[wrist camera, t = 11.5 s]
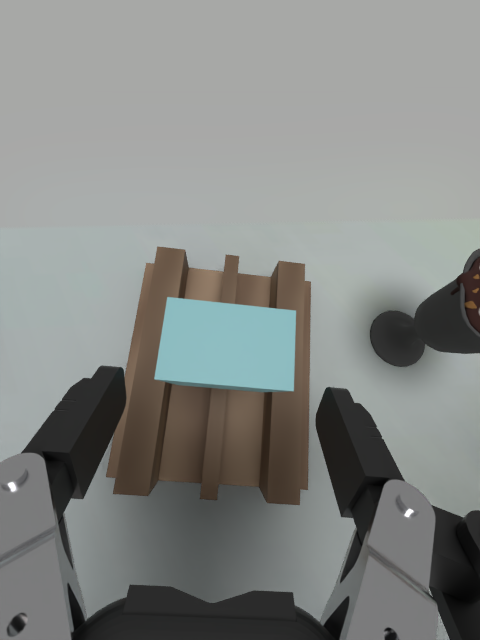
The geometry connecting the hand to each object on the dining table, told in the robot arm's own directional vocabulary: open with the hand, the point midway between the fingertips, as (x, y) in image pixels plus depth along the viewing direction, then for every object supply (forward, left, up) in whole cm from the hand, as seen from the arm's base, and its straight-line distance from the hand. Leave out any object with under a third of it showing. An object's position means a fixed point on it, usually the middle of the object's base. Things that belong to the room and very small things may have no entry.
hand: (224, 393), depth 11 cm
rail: (0, -2, -11) cm, 11 cm away
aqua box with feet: (0, -2, -10) cm, 10 cm away
